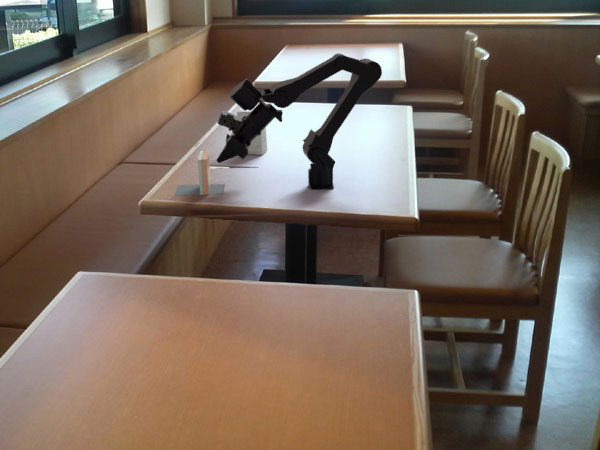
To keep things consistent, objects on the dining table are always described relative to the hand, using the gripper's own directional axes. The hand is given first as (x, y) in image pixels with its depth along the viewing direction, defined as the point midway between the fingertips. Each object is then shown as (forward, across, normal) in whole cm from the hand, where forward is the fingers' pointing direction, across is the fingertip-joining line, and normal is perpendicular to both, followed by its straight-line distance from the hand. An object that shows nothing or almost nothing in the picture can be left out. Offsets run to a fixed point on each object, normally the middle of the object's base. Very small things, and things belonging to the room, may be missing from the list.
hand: (217, 161), depth 185 cm
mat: (+10, 0, +2) cm, 10 cm away
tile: (+8, 0, +3) cm, 9 cm away
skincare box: (0, -40, +13) cm, 42 cm away
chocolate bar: (+6, -18, +8) cm, 21 cm away
